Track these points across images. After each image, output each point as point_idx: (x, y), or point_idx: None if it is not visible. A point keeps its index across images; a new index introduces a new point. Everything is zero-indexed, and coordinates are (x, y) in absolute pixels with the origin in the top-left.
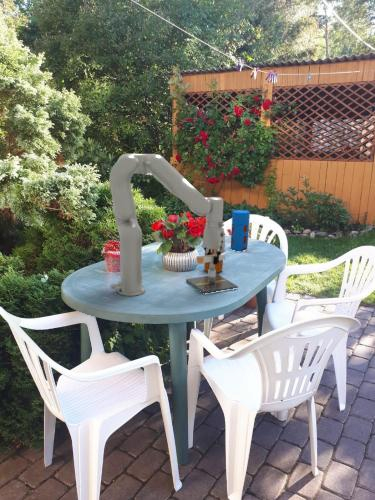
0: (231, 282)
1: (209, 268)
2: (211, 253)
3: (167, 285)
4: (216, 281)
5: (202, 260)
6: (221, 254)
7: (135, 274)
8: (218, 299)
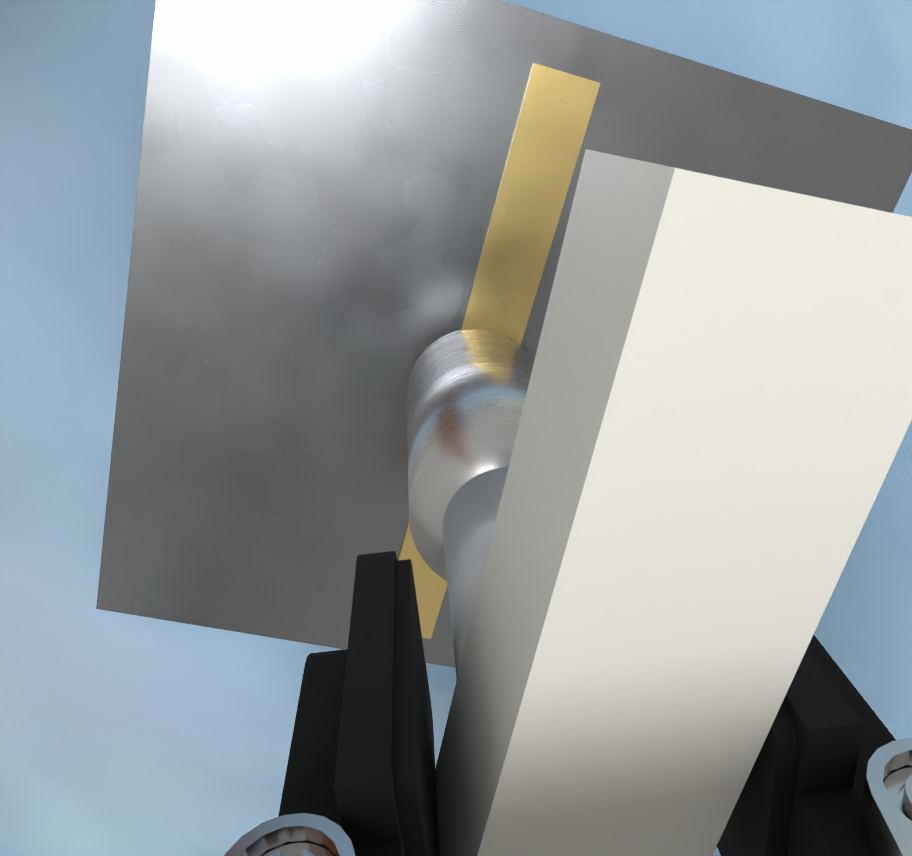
0: (727, 75)
1: None
2: (396, 813)
3: (112, 813)
4: (499, 291)
5: None
6: (815, 460)
7: None
8: (868, 622)
